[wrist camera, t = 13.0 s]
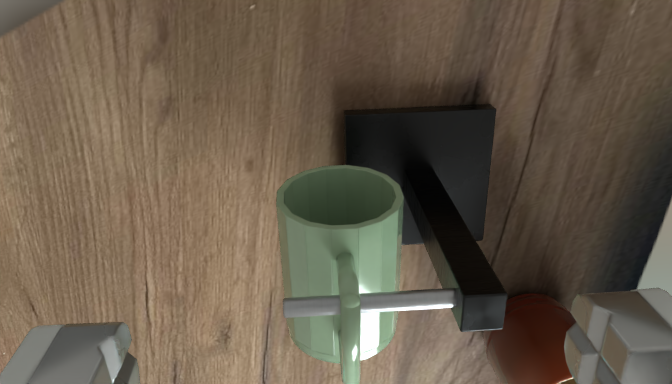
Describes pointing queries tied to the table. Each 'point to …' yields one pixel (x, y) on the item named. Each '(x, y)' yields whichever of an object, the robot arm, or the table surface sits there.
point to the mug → (531, 342)
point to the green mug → (341, 258)
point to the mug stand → (430, 207)
